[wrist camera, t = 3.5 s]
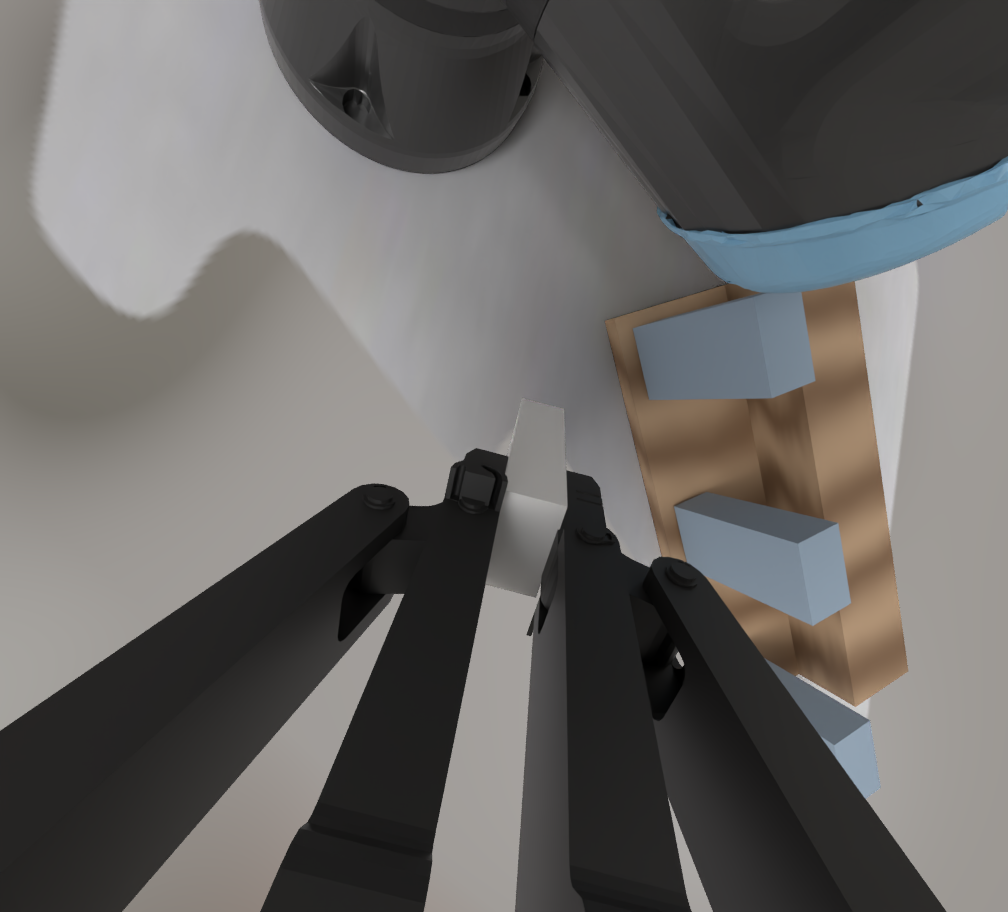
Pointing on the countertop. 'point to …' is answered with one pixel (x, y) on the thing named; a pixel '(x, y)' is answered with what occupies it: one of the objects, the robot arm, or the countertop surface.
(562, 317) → the countertop surface
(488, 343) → the countertop surface
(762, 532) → the key middle
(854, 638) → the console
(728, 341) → the key
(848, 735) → the key
